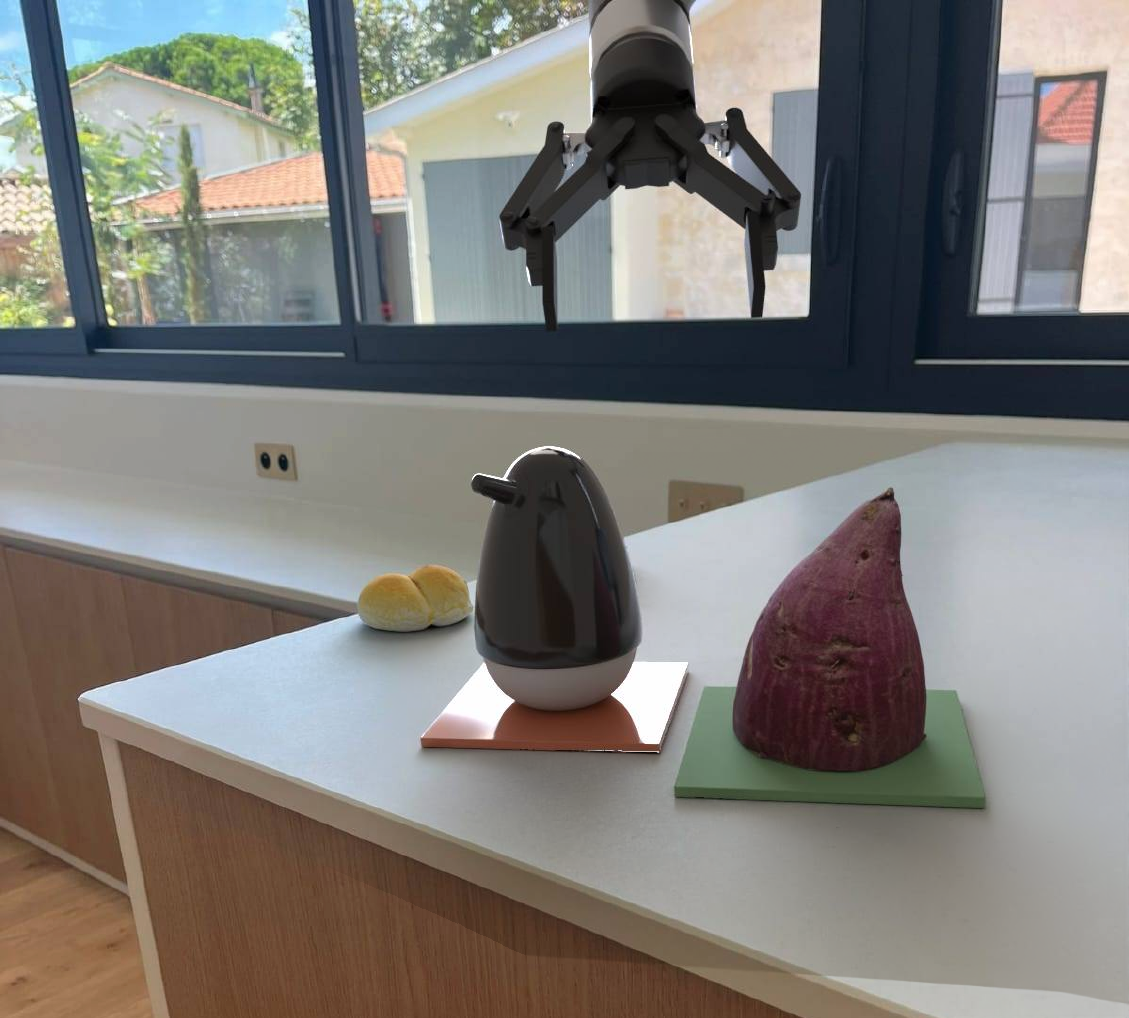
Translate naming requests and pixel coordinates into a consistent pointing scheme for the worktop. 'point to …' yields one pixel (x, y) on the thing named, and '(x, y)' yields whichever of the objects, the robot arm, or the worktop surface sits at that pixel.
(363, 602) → the bread roll
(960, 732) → the green mat
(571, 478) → the pump dispenser
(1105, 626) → the worktop surface
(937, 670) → the worktop surface
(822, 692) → the vegetable
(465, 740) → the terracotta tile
